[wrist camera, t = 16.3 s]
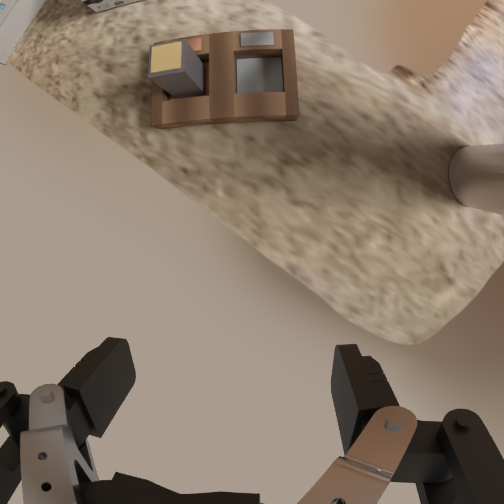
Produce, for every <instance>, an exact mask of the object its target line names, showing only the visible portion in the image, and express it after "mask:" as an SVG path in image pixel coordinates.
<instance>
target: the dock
mask: <svg viewBox="0 0 504 504" xmlns="http://www.w3.org/2000/svg"><path fill="white" fill-rule="evenodd" d="M181 39H186V40H187V41H188V43H189V44H190V46H191V47H192V49H193V50H194V51H195V53H196V54H197V56H198V57H199V59H200V60H201V62H202V63H203V65H204V66H205V68H206V95H202V96H193V97H185V98H178V99H177V98H175V97H174V96H173V95H171V94H170V93H168V92H167V91H166V90H164V89H163V88H162V87H160V86H159V85H157V84H156V83H155V82H153V81H152V99H151V126H154V127H157V128H159V129H166V128H174V127H183V126H192V125H203V124H215V123H229V122H247V121H297V118H298V116H299V110H298V91H297V75H296V60H295V47H294V35H293V30H249V31H234V32H223V33H214V34H205V35H198V36H191V37H185V38H179V39H173V40H168V41H162V42H158V43H154V45H155V44H160V43H165V42H170V41H175V40H181Z"/></svg>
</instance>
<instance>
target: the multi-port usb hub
mask: <svg viewBox="0 0 504 504" xmlns="http://www.w3.org/2000/svg"><path fill="white" fill-rule="evenodd" d="M46 1H47V0H0V64H3V65H7V63H8V62H7V60H8V58H9V57H10V55H11V53H12V51H13V50H14V48H15V46H16V45H17V43H18V41H19V40H20V38H21V36H22V35H23V33H24V32H25V30H26V29H27V27H28V26H29V24H30V23H31V21H32V20H33V18H34V17H35V15H36V14H37V13H38V11H39V10H40V9H41V7H42V6H43V4H44V3H45V2H46Z"/></svg>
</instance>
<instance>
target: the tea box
mask: <svg viewBox="0 0 504 504" xmlns="http://www.w3.org/2000/svg"><path fill="white" fill-rule="evenodd" d="M81 1H82V2H83V3H85V4H86V5H87V6H89V7H90V8H91V9H93V10H94V11H96V12H100V11H103V10H107V9H110V8H113V7H117V6H121V5H125V4H128V3H132V2H136V1H141V0H81Z"/></svg>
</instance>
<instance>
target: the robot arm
mask: <svg viewBox="0 0 504 504" xmlns="http://www.w3.org/2000/svg"><path fill="white" fill-rule="evenodd" d="M449 181H450V186H451V189H452V191H453V194H454V195H455V197H456V198H457V199H458V200H459V202H461V203H462V204H463V205H466V206H468V207H472V208H477V209H481V210H485V211H489V212H493V213H497V214H501V215H504V144H493V145H479V146H468V147H463V148H460V149H459V150H458V151H457V152H456V153H455V154H454V155H453V157H452V160H451V162H450V166H449ZM135 378H136V372H135V368H134V364H133V360H132V356H131V352H130V348H129V344H128V342H127V340H126V339H122V338H113V337H108V338H106V339H105V340H104V342H103V343H102V344H101V345H100V346H99V347H97V348H95V349H93V350H91V351H90V352H88V353H87V354H86V355H85V356H84V357H83V358H82V359H81V361H79V362H78V363H77V364H76V366H75V367H73V368H72V369H71V370H70V372H69V373H68V374H67V375H66V376H65V377H64V378H63V379H62V380H61V381H60V383H58V384H57V385H56V384H45V385H42V386H39V387H38V388H36V389H35V390H34V391H33V392H32V393H31V395H27V394H18V392H17V390H16V388H15V386H14V384H13V383H11V382H7V381H6V382H0V428H1V426H2V425H3V426H4V427H5V428H6V430H7V432H8V434H9V435H10V436H9V437H8V438H7V440H6V441H5V443H4V444H3V445H2V446H1V448H0V504H7V503H8V501H9V500H10V498H11V496H12V494H13V493H14V491H15V489H16V488H17V486H18V484H19V483H20V481H21V480H22V491H23V501H24V504H263V503H260V494H252V493H232V492H210V493H198V494H179V493H176V492H174V491H171V490H169V489H166V488H164V487H162V486H160V485H157V484H155V483H153V482H151V481H149V480H145V479H141V478H137V477H133V476H129V475H125V474H121V473H118V472H116V473H115V475H114V477H113V479H112V480H101V481H100V480H99V478H98V475H97V471H96V468H95V464H94V461H93V457H92V454H91V450H90V446H89V443H88V441H87V437H88V435H92V436H96V437H99V438H101V437H102V435H103V434H104V432H105V430H106V429H107V427H108V425H109V424H110V422H111V420H112V419H113V417H114V416H115V414H116V412H117V411H118V409H119V407H120V406H121V404H122V403H123V401H124V400H125V398H126V396H127V395H128V393H129V392H130V390H131V388H132V387H133V385H134V383H135ZM331 393H332V398H333V402H334V407H335V411H336V416H337V420H338V425H339V430H340V435H341V439H342V445H343V449H344V455H345V456H344V457H341V456H340V457H338V458H337V459H336V460H335V461H334V462H333V463H332V464H331V466H330V467H329V468H328V469H327V470H326V472H325V473H324V474H323V475H322V477H321V478H320V479H319V480H318V481H317V482H316V483H315V485H314V486H313V487H312V488H311V489H310V490H309V491H308V492H307V493H306V495H305V496H304V497H303V498H302V499H301V500H300V501H299V502H298V503H297V504H377V502H378V501H379V499H380V497H381V496H382V494H383V492H384V491H385V489H386V487H387V486H388V484H389V482H407V483H416V487H417V491H418V494H419V498H420V502H421V504H504V459H503V458H502V455H501V454H500V452H499V450H498V448H497V446H496V444H495V443H494V441H493V439H492V437H491V436H490V434H489V432H488V430H487V428H486V427H485V425H484V423H483V421H482V420H481V418H480V417H479V416H478V415H477V414H476V413H474V412H472V411H470V410H467V409H455V410H452V411H450V412H448V413H447V414H446V415H445V417H444V419H443V421H442V422H436V421H420V420H417V418H416V416H415V415H414V414H413V413H412V412H411V411H410V410H408V409H406V408H403V407H400V406H399V403H398V401H397V399H396V397H395V395H394V393H393V391H392V389H391V387H390V385H389V382H388V381H387V378H386V376H385V374H383V370H382V368H381V366H380V364H379V363H378V362H377V361H376V360H374V359H373V358H372V357H371V356H362V355H361V353H360V351H359V349H358V346H357V345H356V344H346V345H336V347H335V352H334V361H333V370H332V377H331Z"/></svg>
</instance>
